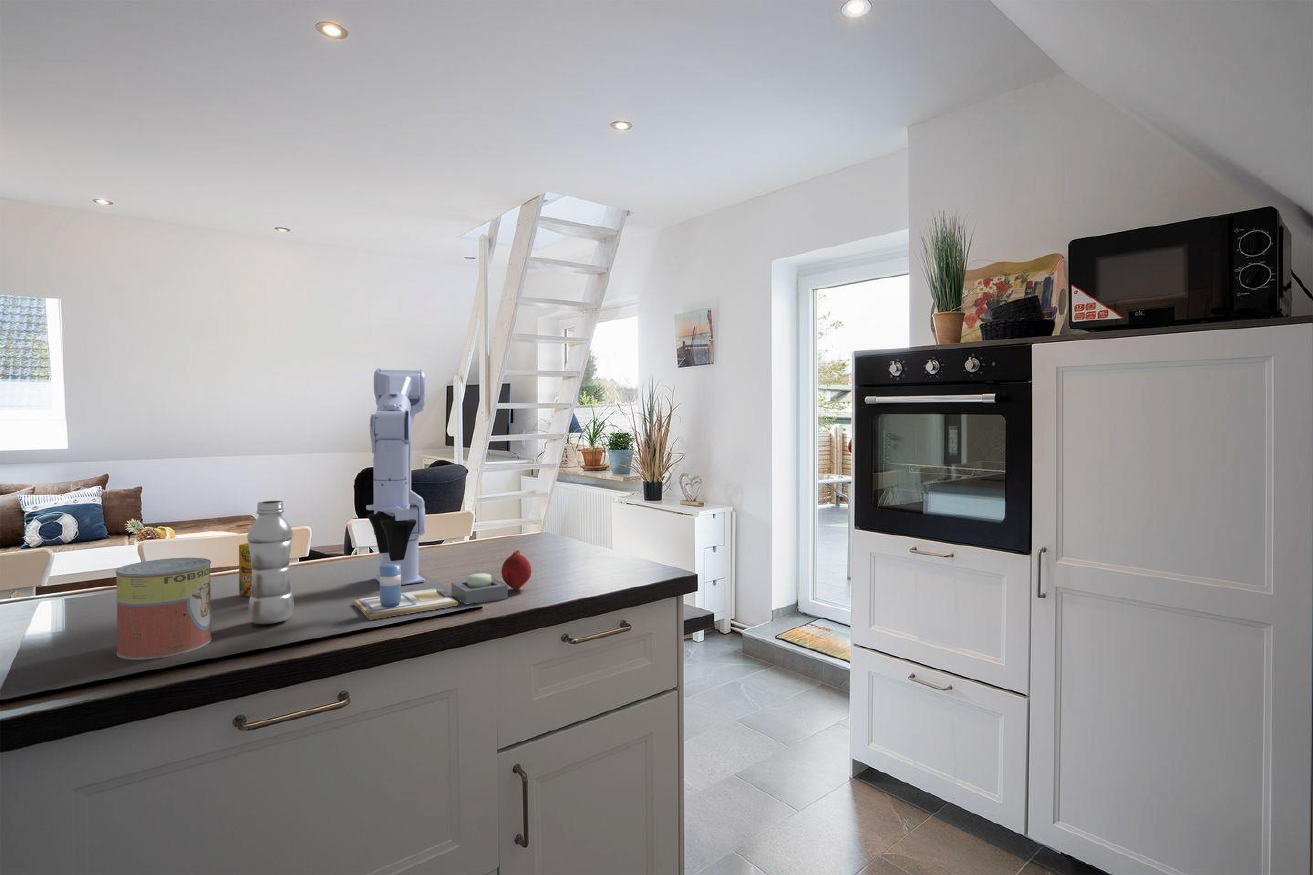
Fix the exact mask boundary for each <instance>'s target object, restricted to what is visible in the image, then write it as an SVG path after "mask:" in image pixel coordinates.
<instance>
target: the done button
mask: <svg viewBox="0 0 1313 875" xmlns="http://www.w3.org/2000/svg"><path fill="white" fill-rule="evenodd" d="M491 577H492V574H490V573H484V572H483V573H472V574H469V575H467V577H466V578H467V579H466V580H467V587H469V588H471V589H473V588H479V587H486V586H491Z"/></svg>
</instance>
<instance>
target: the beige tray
mask: <svg viewBox="0 0 1313 875" xmlns="http://www.w3.org/2000/svg"><path fill="white" fill-rule="evenodd" d="M353 601H354V602H353V604H354V606H355V607H356V608H357V609H358V610H359V611H360V610H361V611H362V612H363V613H364V614H363V613H362V612H361V611H360V612H361V613H362V614H363V615H364V616H365V617H366V618H367V619H368V621H370V620H371V621H374V620H373V619H377V620H379V619H378V618H383V619H385V618H384V617H389V616H393V615H400V614H406V613H411V612H418V611H423V610H433V611H436V610H435V609H439V608H443V607H449V606H455V605H458V606H459V601H458V600H457V599H455V598H454V597H453V596H452V594H451V593H450V592H449V591H447V590H446V589H443V588H440V589H439V588H437V587H436V588H435V587H434V588H426V589H420V590H413V591H408V592H401V601H400V605H398V606H396V607H389V608H385V607H381V603H380V595H378V596H372V597H365V598H363V597H362V598H357V599H354V600H353ZM439 610H440V609H439ZM389 618H390V617H389Z"/></svg>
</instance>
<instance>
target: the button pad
mask: <svg viewBox="0 0 1313 875" xmlns="http://www.w3.org/2000/svg"><path fill="white" fill-rule="evenodd" d="M450 587H451V588H450V589H451V590H450V591H451V593H450V594H452V598H454V599H456V598H457V599H456V600H457V601H459V600H461V601H463V602H465V603H476V604H481V603H482V604H483V603H488V602H489V603H490V602H493V601H500V600H507V599H508V596H509V595H508V594H509V592H508V591H509V590H508V588H509V586H508V585H507V584H506V583H505V582H502V581H501V580H498V579H496V578H494V577H492V576H491V586H486V587H479V588H473V589H471V588H469V587H467V579H466V580H460V581H454V582H453V581H452V582H451V586H450ZM461 601H460V602H461Z"/></svg>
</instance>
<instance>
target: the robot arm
mask: <svg viewBox="0 0 1313 875" xmlns="http://www.w3.org/2000/svg"><path fill="white" fill-rule="evenodd" d="M425 374H426V373H425V371H424V370H423V369H419V370H414V369H411V370H410V369H381V368H376V370H375V371H374V373H373V393H374V397H375V403H376V406H377V407H376V411H375V413H371V414H370V418H369V434H370V435H369V436H370V440H371V441H370V442H371V453H372V454H373V458H372V459H373V460H372V461H373V503H372V504H366V506H365V509H366V510H368V511H373V513H369V514H367V517H366V518H367V519H368V520H369V522H370V524H371V527H372V528H373V534H374V536H375V540H376V544H377V549H378V574H377V575H374V576H373V579H375V581H377V582H378V583H380V566H381V565H384V564H400V565H401V586H402V585H411V584H417V583H422V582H423V583H424V582H426V579H425V578H423V577H422V576H421V575H420V574H419V570H420V569H419V540H420V536H421V537H423V535H424V534H425V532H426V508H425V500H424V498H423V497H422V496H421V495H419V494H417V493H416V492H415V491H413V490H412V440H413V438H412V436H413V432H412V430H413V428H412V426H413V422H414V419H415V416H416V414H418V413H421V412H423V411H424V407H425V398H426V375H425Z"/></svg>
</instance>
